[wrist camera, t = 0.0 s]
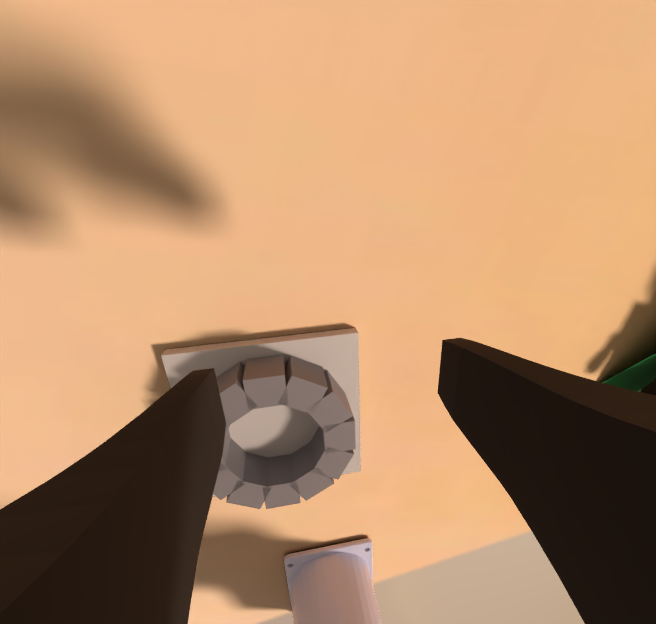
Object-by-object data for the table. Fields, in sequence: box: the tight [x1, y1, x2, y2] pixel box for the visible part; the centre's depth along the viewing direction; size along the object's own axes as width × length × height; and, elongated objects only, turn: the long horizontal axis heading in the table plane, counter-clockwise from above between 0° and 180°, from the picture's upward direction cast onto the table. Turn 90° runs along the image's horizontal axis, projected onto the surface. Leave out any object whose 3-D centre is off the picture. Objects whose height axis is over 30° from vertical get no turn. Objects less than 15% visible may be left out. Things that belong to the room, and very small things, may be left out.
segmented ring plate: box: [161, 328, 361, 509], centre depth 20 cm, size 12×12×3 cm
